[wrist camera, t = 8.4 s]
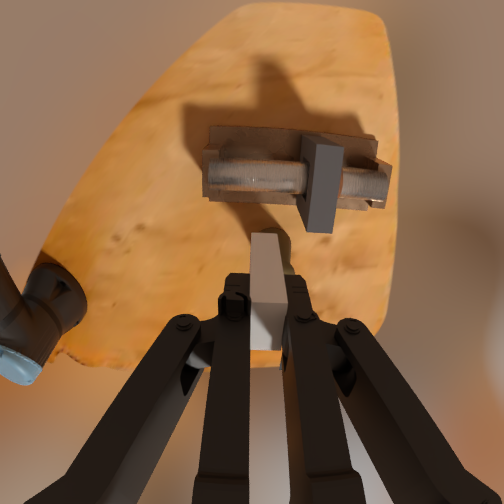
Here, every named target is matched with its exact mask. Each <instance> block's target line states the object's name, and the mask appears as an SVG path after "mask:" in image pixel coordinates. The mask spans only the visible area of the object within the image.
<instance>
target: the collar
mask: <svg viewBox="0 0 504 504" xmlns="http://www.w3.org/2000/svg"><path fill="white" fill-rule="evenodd" d="M343 154H344V147H343V146H341V145H339V144H337V143H335V142H333V141H331V140H329V139H327V138H325V137H319V136H310V135H302V141H301V153H300V162H307V163H310V169H309V178H308V188H307V195H304V194H297V196H296V205H297V208H298V211H299V213H300V216H301V218H302V221H303V224H304V226H305V229H306V231H307V232H313V233H330V234H332V231H333V225H334V219H335V212H336V206H337V199H338V192H339V185H340V178H341V170H342V162H343Z"/></svg>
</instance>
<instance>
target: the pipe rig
mask: <svg viewBox="0 0 504 504" xmlns="http://www.w3.org/2000/svg"><path fill="white" fill-rule="evenodd" d="M302 135H310V136H319V137H325V138H327V139H329V140H331V141H333V142H335V143H337V144H339V145H341V146H343V147H344V154H343V162H342V170H341V178H340V185H339V192H338V199H337V206H336V208H340V209H351V210H362V211H367V210H368V204H369V205H370V206H371V207H372V208H382V209H385V204H386V199H387V194H388V189H389V183H390V177H391V171H392V165H390V164H388V163H386V162H384V161H382V160H380V159H378V158H376V154H377V147H378V141H376V140H371V139H365V138H358V137H352V136H345V135H338V134H330V133H322V132H313V131H303V130H292V129H279V128H264V127H241V126H210V144H209V145H208V146H206V147H205V148H204V149H203V150H202V192H203V197H209V201H216V202H243V203H265V204H283V205H296V196H297V194H304V195H307V188H308V178H309V169H310V163H307V162H300V153H301V141H302Z"/></svg>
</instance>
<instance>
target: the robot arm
mask: <svg viewBox="0 0 504 504" xmlns="http://www.w3.org/2000/svg"><path fill="white" fill-rule="evenodd" d="M86 312H87V300H86V297H85V294H84V292H83V290H82V288H81V286H80V285H79V283H78V282H77V281H76V280H75V278H74V277H73V276H72V275H71V274H70V273H68V272H67V271H66V270H64V269H63V268H61V267H59V266H57V265H55V264H51V263H43V264H40V265H38V266H37V267H36V268H35V269H34V270H33V271H32V272H31V274H30V275H29V278H28V281H27V284H26V286H25V288H24V291H23V293H22V295H21V294H20V292H19V290H18V288H17V287H16V285H15V283H14V281H13V280H12V278H11V276H10V274H9V272H8V270H7V268H6V266H5V265H4V262H3V260H2V259H1V254H0V374H1V375H2V376H4V377H5V378H7V379H9V380H10V381H12V382H15V383H17V384H20V385H30V384H32V383H33V382H34V381H35V379H36V377H37V376H38V375H39V373H40V372H42V368H43V366H44V365H45V363H46V361H47V360H48V358H49V356H50V354H51V353H52V351H53V349H54V348H55V346H56V344H57V343H58V341H59V339H60V338H61V336H62V335H63V334H65V333H66V332H68V331H69V330H71V329H72V328H73V327H75V326H76V325H78V324H79V323H80V322H81V321H82V319H83V317H84V316H85V314H86ZM281 346H282V357H281V363H280V369H279V370H282V376H283V389H284V402H285V413H286V414H285V416H286V429H287V444H288V460H289V476H290V502H289V504H366V500H365V494H364V488H363V483H362V479H361V476H360V474H359V473H358V472H357V471H355V470H354V469H353V468H352V465H351V460H350V454H349V449H348V444H347V439H346V434H345V429H344V423H343V419H342V414H341V409H340V404H339V400H338V397H339V399H340V401H341V403H342V405H343V407H344V409H345V411H346V413H347V415H348V416H349V418H350V420H351V422H352V424H353V426H354V428H355V430H356V432H357V433H358V436H359V437H360V439H361V441H362V443H363V445H364V447H365V449H366V451H367V453H368V455H369V457H370V459H371V461H372V463H373V464H374V466H375V468H376V470H377V472H378V474H379V476H380V478H381V480H382V482H383V484H384V486H385V488H386V490H387V492H388V494H389V496H390V497H391V499H392V501H393V503H394V504H502V501H501V498H500V496H499V495H498V494H497V493H495V492H494V491H493V490H492V489H490V488H489V487H488V486H486V485H485V484H484V483H482V482H481V481H480V480H478V479H477V478H476V477H474V476H473V475H472V474H471V473H469V472H468V471H467V470H465V469H464V467H463V466H462V464H461V462H460V461H459V459H458V458H457V456H456V454H455V453H454V451H453V450H452V448H451V447H450V445H449V443H448V442H447V441H446V439H445V437H444V436H443V434H442V433H441V431H440V430H439V428H438V427H437V425H436V424H435V422H434V421H433V419H432V418H431V416H430V415H429V413H428V412H427V410H426V409H425V407H424V406H423V405H422V403H421V402H420V400H419V399H418V397H417V396H416V394H415V393H414V392H413V390H412V389H411V387H410V386H409V384H408V383H407V382H406V380H405V379H404V378H403V376H402V375H401V373H400V372H399V370H398V369H397V368H396V366H395V365H394V364H393V362H392V361H391V360H390V358H389V357H388V355H387V354H386V353H385V351H384V350H383V348H382V347H381V346H380V344H379V343H378V342H377V341H376V339H375V338H374V336H373V335H372V334H371V332H370V331H369V330H368V328H367V327H366V326H365V325H364V324H363V323H362V322H361V321H359V320H357V319H353V318H345V319H342V320H340V321H339V322H338V324H337V325H335V324H330V323H327V322H324V321H322V320H320V319H319V317H318V315H317V313H315V312H314V311H313V309H312V305H311V301H310V297H309V293H308V289H307V285H306V281H305V280H304V279H303V278H302V277H301V276H300V275H289V274H284V273H283V267H282V261H281V254H280V248H279V242H278V236H277V234H274V233H252V232H251V252H250V273H249V274H246V273H230V274H229V275H228V276H227V277H226V279H225V286H224V292H223V293H222V294H221V295H220V296H219V298H218V315H217V316H216V317H214V318H212V319H209V320H205V321H199V319H198V318H197V317H195V316H193V315H190V314H181V315H177V316H175V317H173V318H172V319H171V320H170V321H169V322H168V323H167V325H166V326H165V327H164V329H163V330H162V332H161V333H160V334H159V336H158V337H157V339H156V340H155V342H154V343H153V344H152V346H151V347H150V349H149V350H148V351H147V353H146V354H145V356H144V357H143V359H142V360H141V361H140V363H139V364H138V366H137V367H136V369H135V370H134V372H133V373H132V375H131V376H130V378H129V379H128V380H127V382H126V383H125V385H124V386H123V388H122V389H121V391H120V392H119V393H118V395H117V396H116V398H115V399H114V401H113V402H112V404H111V405H110V407H109V408H108V410H107V411H106V413H105V414H104V416H103V417H102V419H101V420H100V421H99V423H98V425H97V426H96V428H95V429H94V431H93V432H92V434H91V435H90V437H89V438H88V440H87V441H86V443H85V444H84V446H83V447H82V449H81V450H80V452H79V453H78V455H77V457H76V458H75V460H74V461H73V463H72V464H71V466H70V467H69V469H68V471H67V472H66V474H65V475H64V476H62V477H61V478H60V479H58V480H57V481H55V482H54V483H52V484H51V485H50V486H48V487H47V488H45V489H44V490H42V491H41V492H40V493H38V494H36V495H35V496H33V497H32V498H30V499H29V500H27V501H26V502H25V503H24V504H137V502H138V500H139V498H140V496H141V494H142V492H143V490H144V488H145V486H146V484H147V482H148V480H149V479H150V477H151V474H152V473H153V471H154V468H155V467H156V464H157V463H158V461H159V459H160V457H161V455H162V453H163V451H164V449H165V447H166V445H167V443H168V441H169V439H170V437H171V435H172V433H173V431H174V429H175V427H176V425H177V423H178V421H179V419H180V417H181V415H182V413H183V411H184V409H185V407H186V405H187V403H188V401H189V399H190V397H191V395H192V393H193V391H194V389H195V387H196V385H197V382H198V381H199V379H200V376H201V375H202V373H203V371H204V368H205V367H210V366H211V371H210V379H209V387H208V394H207V402H206V410H205V418H204V426H203V434H202V443H201V451H200V460H199V469H198V474H197V475H196V477H195V481H194V487H193V496H192V504H249V407H250V350H281Z"/></svg>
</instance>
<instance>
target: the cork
mask: <svg viewBox="0 0 504 504" xmlns="http://www.w3.org/2000/svg"><path fill="white" fill-rule="evenodd" d="M259 233H274V234H277V236H278V242H279V248H280V254H281V261H282V267H283V273H284V274H289V275H295V272H294V268H293V267H292V266H291V264H290V257H291V241H290V237H289V236H288V235H287V233H285V232H284V231H283V230H281V229H278V228H268V229H264V230H262V231H261V232H259Z"/></svg>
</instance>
